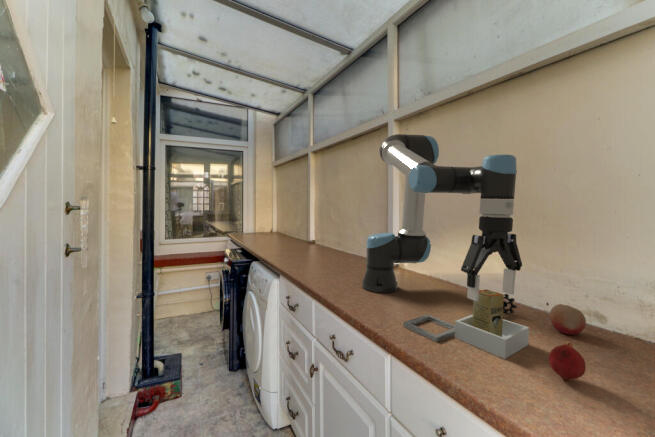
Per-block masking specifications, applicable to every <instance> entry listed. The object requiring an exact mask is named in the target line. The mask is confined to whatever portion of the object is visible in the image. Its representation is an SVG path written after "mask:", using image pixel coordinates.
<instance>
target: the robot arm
mask: <svg viewBox="0 0 655 437" xmlns="http://www.w3.org/2000/svg"><path fill="white" fill-rule="evenodd" d="M439 149H440V148H439V144H438V142H437V140H436V139H435V138H434V136H430V135H424V134H405V133H404V134H403V133H400V134H399V133H396V134H392V135H390V136H388V137H386V138H385V139H384V140H383V141H382V142H381V144H380V147H379V156H380V158H381V160H382V161H383V162H384V163H386V164H387V165H389V166H393V167H395V168H396V169H397V170H398V171H400V172H401V174H403V175H405V178H404V194H403V209H402V224H401V228H400V229H399V230H398V231H397V236H396V235H395V233H393V232H379V233H374V234H371V235H369V236H368V237H367V239H366V245H365V247H366V268H365V269H366V270H365V273H364V276H363V279H362V280H361V287H362V289H364V290H366V291H370V292H374V293H393V292H395V291H396V292H397V291H398V282H397V279H396V274H395V270H394V269H395V268H394V267H395V264H417V263H418V264H419V263H423V262H425V261H426V260H428V258H429V256H430V254H431V247H432V246H431V245H432V244H431V240H430V239H429V237H428V236H427V233H426V231H424V229H423V228H424V218H425V217H424V216H425V203H426V194H428V193H429V194H430V193H431V194H433V193H434V194H462V195H465V194H466V195H470V194H471V195H472V194H480V200H479V210H478V211H479V212H478V213H479V214H480V215H481V216H480V217H479V218H478V219H479V220H478V229H479V231H481V235H480V234H479V235H477V234H473V235H472V236H471V241H470V242H471V243H470V246H469V248H468V250H467V253H466V255H465V258H464V260H463V262H462V265H461V267H460V271H461V272H462V273H466V275H467V278H466V280H467V281H466V286H467V293H466V294H467V295H466V298H467V299H469V300H472V301H473V300H474V301H479V290H480V281H481V279H480V278H481V275H480V274H479V272H480V270H481V269H482V268H483V266H484V264H485V263H486V261H487V259H488V258H489V256H491V255H493V253H498V254H499V257H500V258H501V260H502V262H503V264H504V266H505V267H506V268H503V277H502V292H503V293H505V294H508V295H512V296H513V295H515V281H516V271H521V269H522V268H521V267H522V266H523V262H522V258H521V255H520V252H519V248H518V244H517V234H515V233H511V232H512V231H513V227H514V226H513V225H514V224H513V223H514V219H513V218H512V217H511V216H513V215H514V208H515V207H514V206H515V204H514V203H515V195H516V194H515V193H516V182H517V181H516V180H517V173H518V170H517V158H516V156H514V155H512V154H491V155H486V156H485V157H483V159H482V163H481V166H474V167H473V166H472V167H471V166H469V167H468V166H444V165H443V166H442V165H440V166H439V165H435V164H436V163H437V161H438V159H439V152H440V150H439Z"/></svg>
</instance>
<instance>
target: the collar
mask: <svg viewBox="0 0 655 437" xmlns="http://www.w3.org/2000/svg"><path fill="white" fill-rule="evenodd" d="M427 321H429V322H431V323H434V324H437V325H439V326H442V327H444V328H447V330H445V331H442V332H439V333H436V334H435V333H432V332H431V331H428V330H426V329H423V328H422V327H420V326H417V325H418V324H421V323H424V322H427ZM402 327H403V328H406V329H408V330H410V331H412V332H414V333H417V334H419V335H421V336H422V337H425V338H426V339H429V340H431V341H433V342H435V343H438V342H440V341H443V340H445V339H448V338H450V337H453V336H455V323H454V324H453V323H450V322H448V321H447V320H446V321H445V320H443V319H441V318H439V317H436V316H433V315H431V314H428V313H427V314H425V315H421V316H418V317H415V318H412V319H409V320H405V321H403V322H402Z"/></svg>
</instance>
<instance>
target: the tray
mask: <svg viewBox="0 0 655 437" xmlns="http://www.w3.org/2000/svg"><path fill="white" fill-rule="evenodd" d="M454 325H455V335H454V338H455V339H456V340H460V341H461V342H465V343H466V344H469V345H470V346H473V347H475V348H478V349H481V350H482V351H485V352H487V353H490V354H492V355H494V356H497V357H499V358H501V359H503V360H506V359H507V358H509V357H510V356H512V355H514V354H515V353H517V352H519V351H520V350H522V349H524V348H526V347H528V346H529V339H530V338H529V337H530V335H529V334H530V327H529V326H526V325H524V324H520V323H516V322H515V321H514V322H513V321H510V320H507V319H504V318H503V323H502V337H500V336H498V335H495V334H492V333H490V332H487V331H484V330H482V329H479V328H476V327H473V314H470V315H467V316H465V317H462V318H460V319H456V320H455V321H454Z"/></svg>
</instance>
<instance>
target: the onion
mask: <svg viewBox="0 0 655 437" xmlns="http://www.w3.org/2000/svg"><path fill="white" fill-rule="evenodd" d="M573 346H574V345H573V343H572V342H571V341H565V342H564V343H563V344H561V345H558V346H554V347H553V348H552V349H551V351H550V353H548V354H549V355H548V363H549V365H550V367H551V369H552V370H553V371H554V373H555V374H557V375H558V376H559V377H560V378H561V379H563V380H564V381H568V382H569V381H571V380H572V381H573V380H577V379H579V378H581V377H582V376H584V375H585V372H586V368H587V365H586V362H585V359H584V357H583V355H581V353H580V352H579V351H578V350H576V349H575V348H574V347H573Z"/></svg>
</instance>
